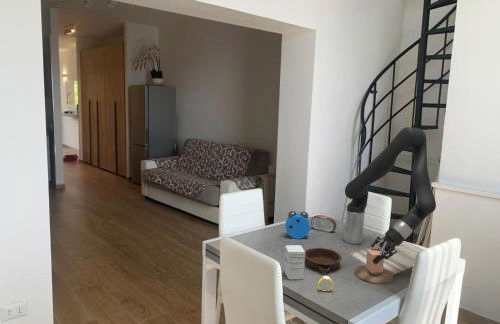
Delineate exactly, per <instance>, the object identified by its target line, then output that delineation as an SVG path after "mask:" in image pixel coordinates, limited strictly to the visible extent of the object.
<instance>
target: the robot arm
mask: <svg viewBox="0 0 500 324" xmlns="http://www.w3.org/2000/svg"><path fill="white" fill-rule="evenodd" d="M407 148H410V149H411V150H412V151H413V158H414V159H413V165H412V169H411V181H412V182H411V183H412V187H413V190H414V192H415V193H416V194H415V195H416V199H417V202H416V203H415V204H414V206H412V207H411V209H410V210H409V211H408V212H406V213H405V214H403V215H402V217H401V218H400V219H399V220H397V221H396V222H395V223H393V225H391V227H390V228H389V229H388V230H387V231H386V232H385V233H384V237H382V238H381V237H380V236H377V237H376V238H375V240H374V241H373V242H372V244H371V245H370V247H371V250H379V251H380V254H379V255H378V256H377V257H376V258H375V259H374V260H373V262H374V264H377V263H379V262H380V261H381V260H382V259H384V260H386V261H387V260H389V259H391V257H393V256H394V255H395V254H397V252H398V250H397V249H396V247H400V246H401V244H402V243H404V242H405V240H407V239H408V237H410V235H412V233H414V231H415V230H416V229H417V228H418V227H419V225H421V223H422V222H423V221H424V220H425V219H426V218H427V217H428V216H429V215H430V214H432V213H433V212H435V210H436V208H437V203H436V202H437V201H436V198H435V195H434V192H433V190H432V186H431V180H430V174H429V169H428V155H427V151H428V150H427V136H426V133H425V131H424V130H423V129H421V128H417V127H411V126H408V127H404V128H402V129H400V131H399V132H397V134H396V135H395V136H394V137H393V139H392V141H391V142H390V143H388V145H387V146H386V147H385V148H384V149H383V150H382V151H381V152H380V153H379V154H378V155H377V156H376V157H375V158H373V160H372V161H371V162H370V163H369V164H368V165H367V166H366V167H365V168H364V169H363V171H361V172H360V173H359V174H358V175H357V176H356V177H355V178H353V179H352V180H351V181H350V182H348V183H347V184H346V185H345V188H344V194H345V195H344V196H346V198H347V199H350V200H351V201H350V202H349V203H348V204H347V205H346V217H345V218H346V219H345V223H344V230H343V231H344V232H343V242H346V243H348V244H351V245H361V244H362V243H363V237H364V224H365V213H366V212H365V211H366V208H367V205H368V198H369V186H370V185H372V184H374V183H375V182H377V181H379V180H380V179H383V177H385V176H386V175H387V174H388V173H390V172H391V171H392V170H393V168H394V166H395V165H396V161H397V158H398V156H399V155H400V154H401V153H402V152H403V151H405V149H407ZM366 257H367V254H366Z"/></svg>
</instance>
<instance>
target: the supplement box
mask: <svg viewBox="0 0 500 324" xmlns="http://www.w3.org/2000/svg"><path fill="white" fill-rule="evenodd" d="M305 251H306V250H305V249H304V248H303V246H302V245H300V244H299V245H298V244H296V245H294V244H293V245H292V244H291V245H288V244H287V245H285V249H284V265H283V267H284V269H283V270H284V271H285V272H284V274H285V273H286V274H285V276H287V277H286V279H287V278H305V262H306V260H305Z"/></svg>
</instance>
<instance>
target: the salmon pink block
mask: <svg viewBox="0 0 500 324" xmlns="http://www.w3.org/2000/svg"><path fill="white" fill-rule="evenodd" d="M380 252H381V251H379V250H372V249H370V250H367V251H366V255H367V256H366V261H365V265H366V268H367V269H368V270H369V271H370V272H371V273H379V272H383V268H384V262H385V259H382V260H381V261H380V262H379V263H377V264H374V262H373V260H374V259H375V258H376V257H377V256H378V255H379V254H380Z"/></svg>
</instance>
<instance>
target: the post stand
mask: <svg viewBox="0 0 500 324" xmlns="http://www.w3.org/2000/svg"><path fill="white" fill-rule="evenodd" d="M354 275H355V277H356V278H357V279H359V280H361V281H363V282H366V283H368V284H373V285H387V284H391V283H392V282H393V280H394V275H393V273H392V272H391V271H389V270H388V269H386V268H384V267H383V272H379V273H371V272H370V271H369V270H368V269H367V268H366V264H365V265H359V266H357V267H355V269H354Z"/></svg>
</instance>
